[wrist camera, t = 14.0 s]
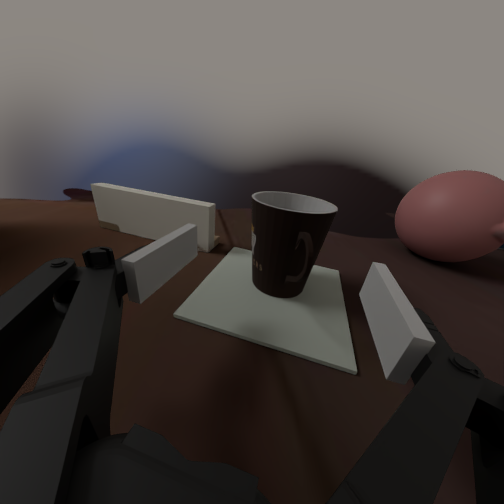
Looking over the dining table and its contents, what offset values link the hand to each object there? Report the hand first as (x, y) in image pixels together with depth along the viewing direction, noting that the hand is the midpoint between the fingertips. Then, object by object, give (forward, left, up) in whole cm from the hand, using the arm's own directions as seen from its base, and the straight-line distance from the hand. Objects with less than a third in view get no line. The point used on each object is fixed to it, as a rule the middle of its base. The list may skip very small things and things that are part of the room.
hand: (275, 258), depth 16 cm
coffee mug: (0, +6, -7) cm, 10 cm away
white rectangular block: (-21, +12, -8) cm, 26 cm away
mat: (0, +6, -8) cm, 10 cm away
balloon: (+27, +27, -8) cm, 39 cm away
